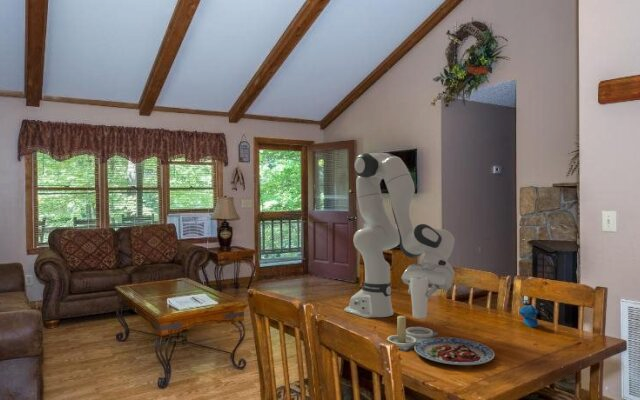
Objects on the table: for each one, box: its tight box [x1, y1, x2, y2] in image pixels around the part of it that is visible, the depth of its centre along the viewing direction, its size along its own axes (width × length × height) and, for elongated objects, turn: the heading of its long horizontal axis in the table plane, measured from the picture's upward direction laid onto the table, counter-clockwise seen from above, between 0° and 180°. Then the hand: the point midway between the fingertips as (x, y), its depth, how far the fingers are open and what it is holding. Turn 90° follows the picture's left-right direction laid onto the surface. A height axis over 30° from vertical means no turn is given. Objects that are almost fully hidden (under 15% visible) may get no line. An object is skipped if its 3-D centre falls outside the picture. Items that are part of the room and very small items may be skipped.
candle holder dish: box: [386, 315, 439, 352], centre depth 172 cm, size 10×24×10 cm, turn 140°
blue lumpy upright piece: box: [518, 304, 539, 328], centre depth 190 cm, size 7×9×12 cm
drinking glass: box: [410, 276, 430, 320], centre depth 177 cm, size 7×7×15 cm
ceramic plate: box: [413, 336, 495, 366], centre depth 156 cm, size 26×26×3 cm
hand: (418, 294), depth 177 cm, fingers closed on drinking glass, 6 cm apart
